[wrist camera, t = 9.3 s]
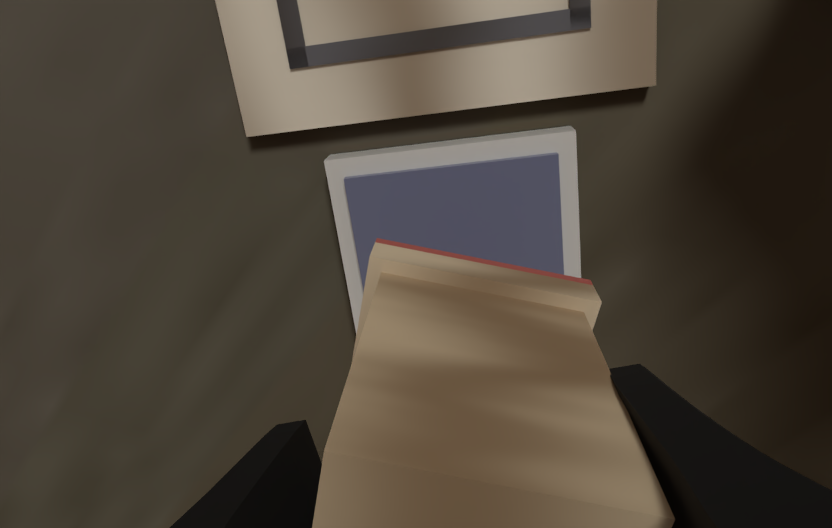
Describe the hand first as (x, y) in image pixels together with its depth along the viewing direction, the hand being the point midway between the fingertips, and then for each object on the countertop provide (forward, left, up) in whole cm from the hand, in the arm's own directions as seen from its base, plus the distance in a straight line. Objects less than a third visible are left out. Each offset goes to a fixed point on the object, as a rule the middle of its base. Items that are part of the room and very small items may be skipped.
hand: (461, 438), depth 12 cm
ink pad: (0, 0, -10) cm, 10 cm away
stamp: (0, 0, -3) cm, 3 cm away
